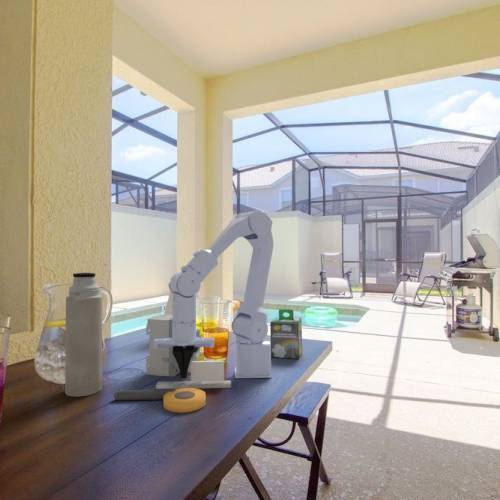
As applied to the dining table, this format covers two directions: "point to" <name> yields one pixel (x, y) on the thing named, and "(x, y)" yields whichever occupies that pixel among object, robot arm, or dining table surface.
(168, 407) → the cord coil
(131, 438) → the dining table surface
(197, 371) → the panel
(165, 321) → the circuit breaker
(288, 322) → the chalk box
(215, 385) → the rail
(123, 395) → the grey rounded rod
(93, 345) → the thermos bottle
